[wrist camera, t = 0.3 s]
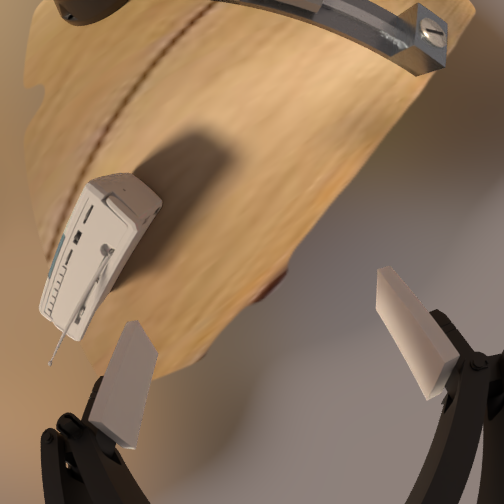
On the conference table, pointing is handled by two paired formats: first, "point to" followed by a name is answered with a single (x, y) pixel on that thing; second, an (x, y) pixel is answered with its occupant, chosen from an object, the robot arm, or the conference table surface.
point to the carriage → (305, 4)
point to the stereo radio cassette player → (95, 249)
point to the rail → (376, 29)
